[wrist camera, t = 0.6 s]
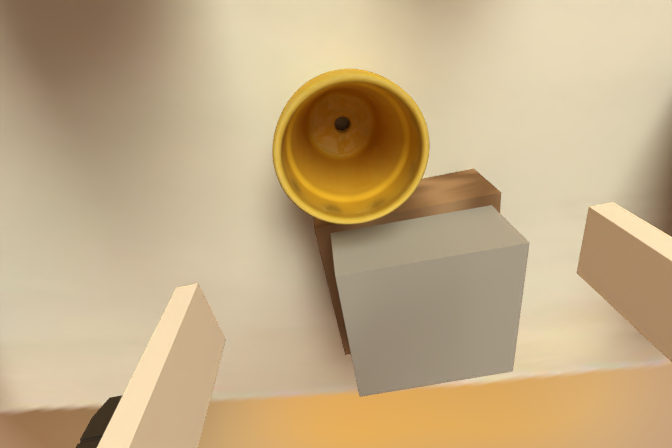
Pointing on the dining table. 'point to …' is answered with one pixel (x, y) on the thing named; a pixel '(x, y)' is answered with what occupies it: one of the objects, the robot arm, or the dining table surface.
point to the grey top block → (431, 298)
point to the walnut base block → (424, 201)
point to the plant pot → (350, 147)
